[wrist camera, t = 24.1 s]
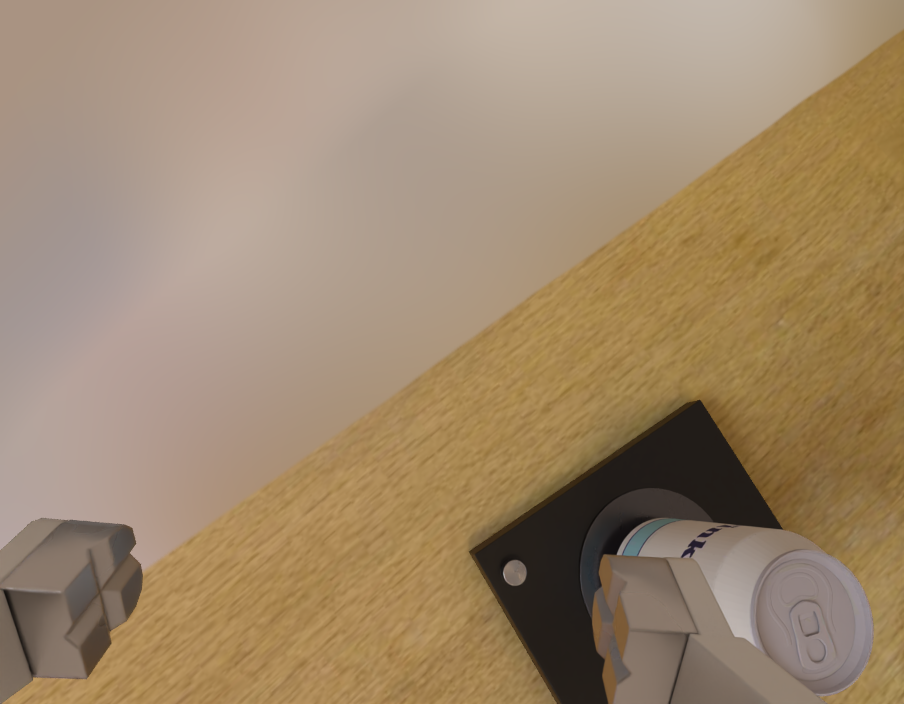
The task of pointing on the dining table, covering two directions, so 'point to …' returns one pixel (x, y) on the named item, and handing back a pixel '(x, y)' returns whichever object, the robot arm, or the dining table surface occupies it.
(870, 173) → the dining table surface
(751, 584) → the beverage can
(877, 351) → the dining table surface
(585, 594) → the hob
